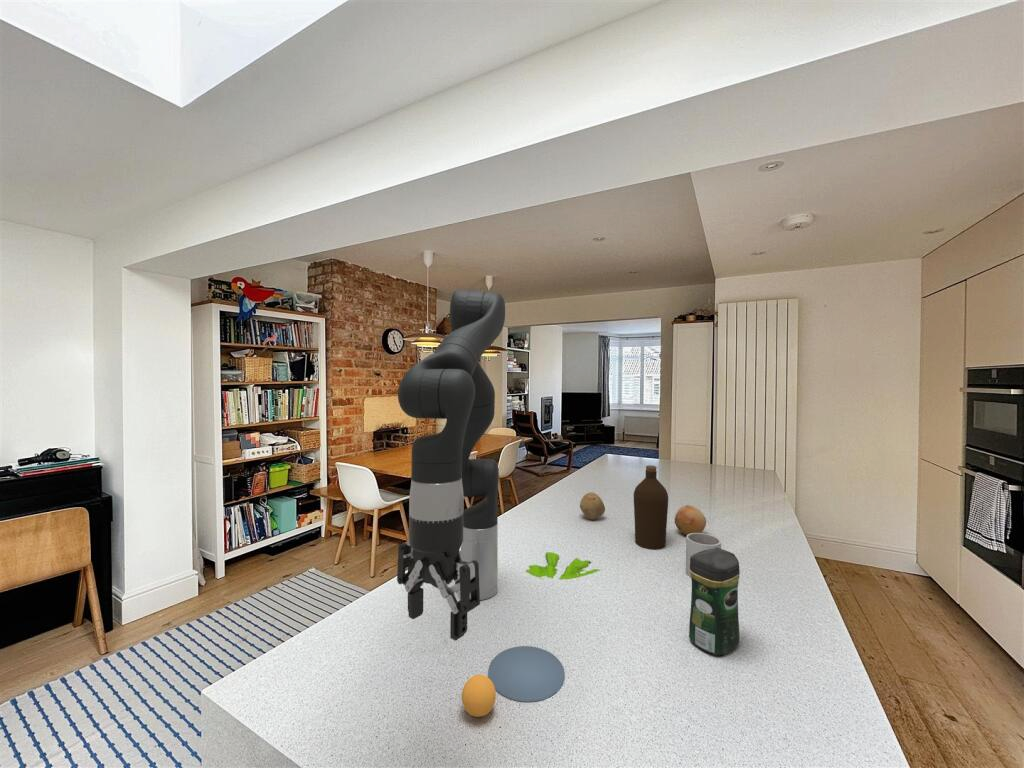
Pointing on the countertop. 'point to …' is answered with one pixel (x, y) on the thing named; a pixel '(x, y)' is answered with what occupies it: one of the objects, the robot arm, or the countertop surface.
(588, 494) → the potato
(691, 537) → the mug
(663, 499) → the olive oil
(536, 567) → the leaves
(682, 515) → the onion
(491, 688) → the ball
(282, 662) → the countertop surface
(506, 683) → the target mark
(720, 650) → the coffee jar
